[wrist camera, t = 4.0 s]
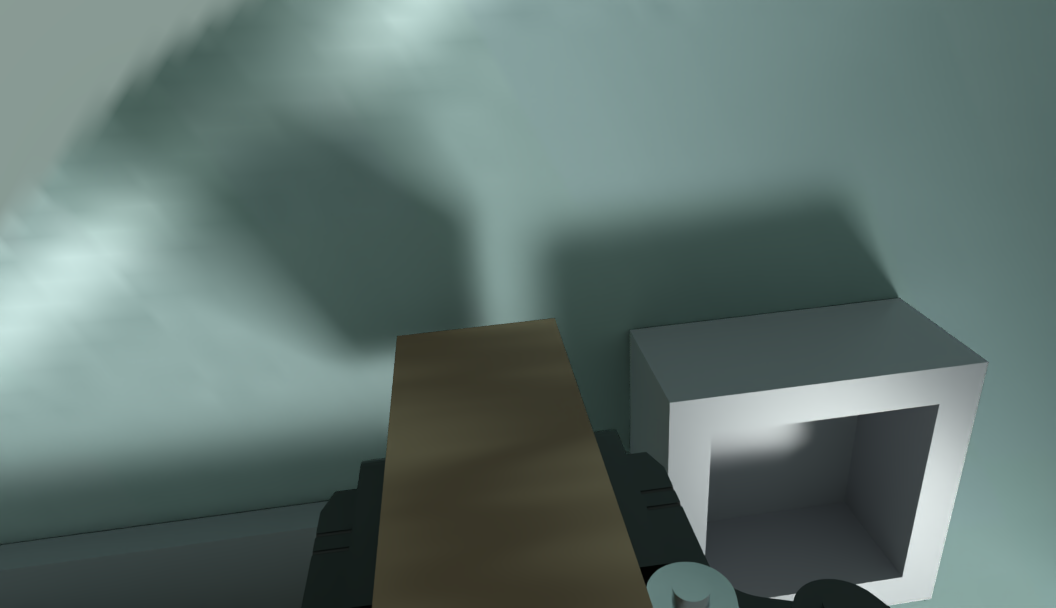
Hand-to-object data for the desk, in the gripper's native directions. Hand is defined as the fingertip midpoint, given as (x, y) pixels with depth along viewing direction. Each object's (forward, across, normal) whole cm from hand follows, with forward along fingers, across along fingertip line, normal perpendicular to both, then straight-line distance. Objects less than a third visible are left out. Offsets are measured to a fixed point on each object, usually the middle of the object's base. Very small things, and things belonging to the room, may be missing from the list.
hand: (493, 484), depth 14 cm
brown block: (+3, 0, 0) cm, 3 cm away
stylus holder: (+6, -8, +4) cm, 10 cm away
